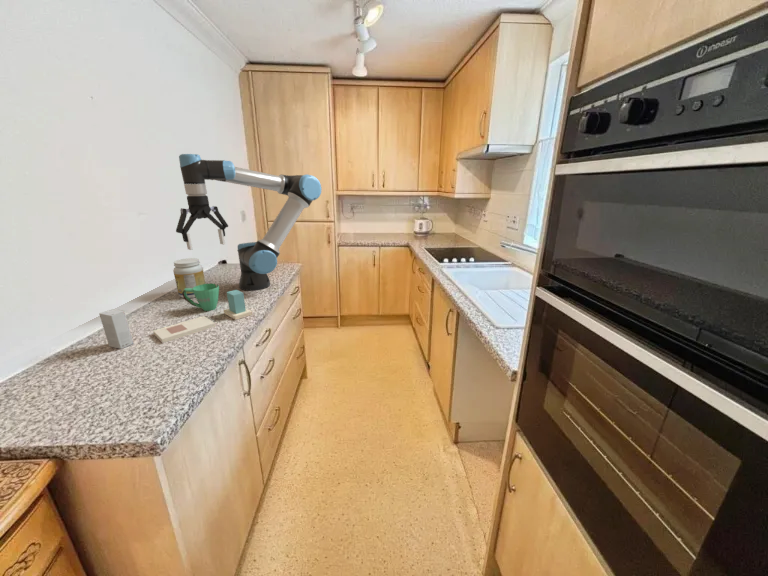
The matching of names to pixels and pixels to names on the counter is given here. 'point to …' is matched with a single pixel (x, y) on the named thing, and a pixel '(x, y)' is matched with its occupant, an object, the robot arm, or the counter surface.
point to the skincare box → (116, 328)
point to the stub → (236, 305)
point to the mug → (203, 296)
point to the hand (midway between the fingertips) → (207, 246)
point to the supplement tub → (188, 275)
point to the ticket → (184, 328)
